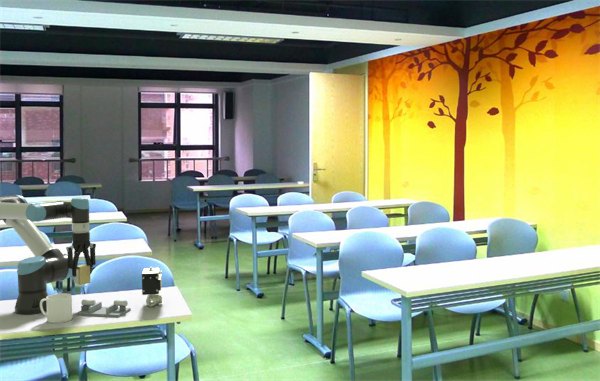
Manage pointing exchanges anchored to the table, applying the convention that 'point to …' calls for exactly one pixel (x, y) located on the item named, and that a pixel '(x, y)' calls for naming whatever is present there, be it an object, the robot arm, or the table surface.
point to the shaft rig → (103, 308)
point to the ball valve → (152, 285)
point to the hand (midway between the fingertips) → (82, 282)
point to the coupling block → (84, 274)
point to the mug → (58, 308)
